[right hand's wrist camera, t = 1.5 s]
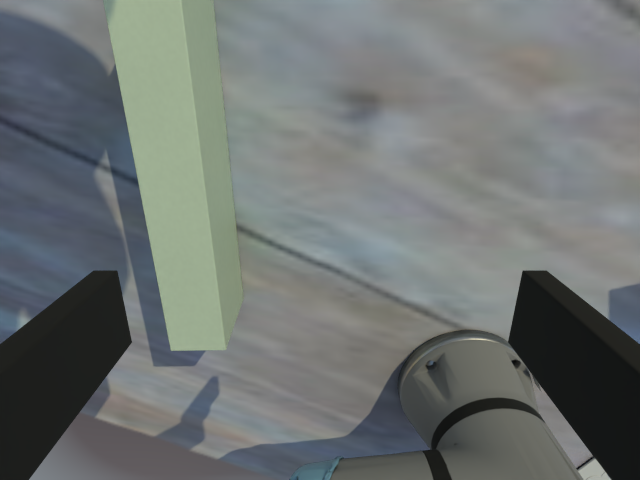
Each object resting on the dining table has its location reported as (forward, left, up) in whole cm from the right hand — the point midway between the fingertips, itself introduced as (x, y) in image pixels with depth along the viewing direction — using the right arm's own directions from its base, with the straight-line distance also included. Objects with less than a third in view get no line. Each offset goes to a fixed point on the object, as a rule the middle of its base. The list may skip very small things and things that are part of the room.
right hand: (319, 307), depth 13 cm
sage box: (0, +11, -27) cm, 29 cm away
